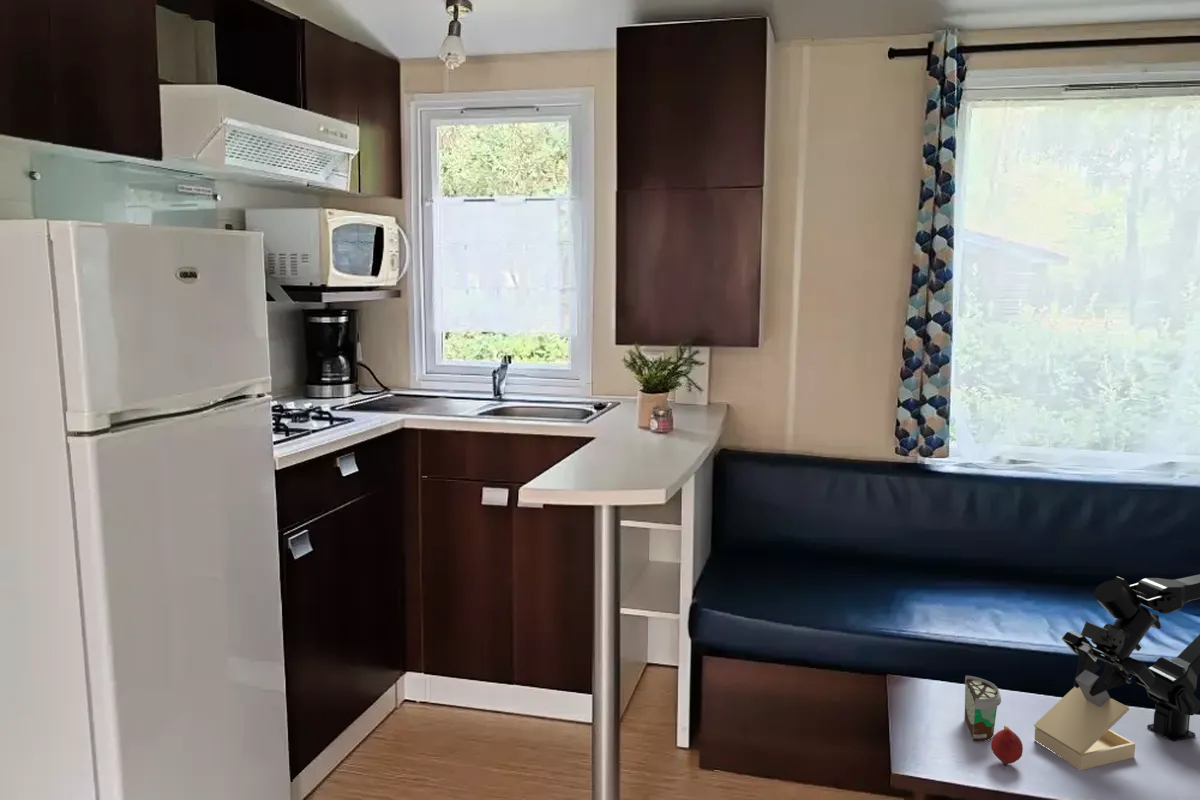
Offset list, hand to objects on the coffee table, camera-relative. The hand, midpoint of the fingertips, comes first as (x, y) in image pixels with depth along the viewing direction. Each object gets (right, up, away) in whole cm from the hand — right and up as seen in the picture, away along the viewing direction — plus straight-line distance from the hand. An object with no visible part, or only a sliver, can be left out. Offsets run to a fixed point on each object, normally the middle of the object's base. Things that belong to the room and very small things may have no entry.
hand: (1083, 690), depth 188 cm
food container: (-16, -12, +10) cm, 23 cm away
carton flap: (0, -6, +1) cm, 6 cm away
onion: (-17, -14, -3) cm, 22 cm away
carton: (+1, -13, +2) cm, 13 cm away
